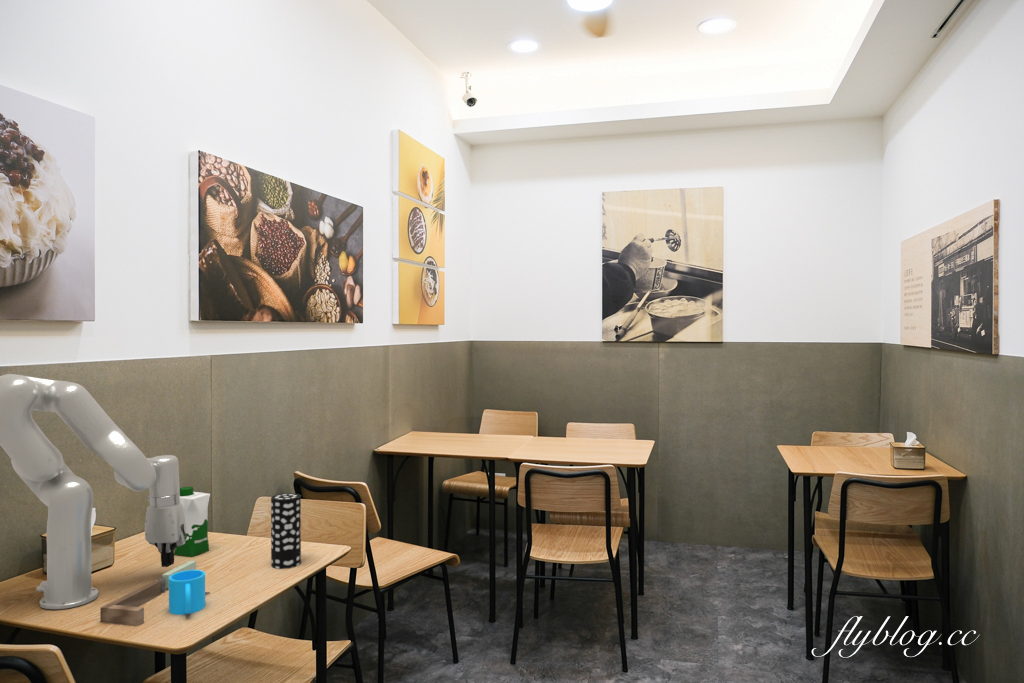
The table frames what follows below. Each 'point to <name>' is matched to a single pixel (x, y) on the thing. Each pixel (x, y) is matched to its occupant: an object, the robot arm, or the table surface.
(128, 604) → the dock
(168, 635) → the table surface
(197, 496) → the milk carton
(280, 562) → the white-spotted black cylinder
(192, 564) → the leg
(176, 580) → the mug
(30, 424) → the robot arm
